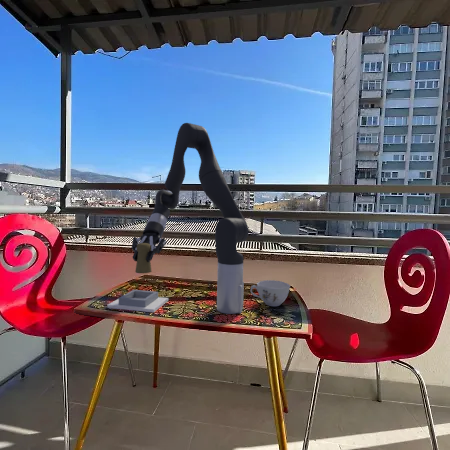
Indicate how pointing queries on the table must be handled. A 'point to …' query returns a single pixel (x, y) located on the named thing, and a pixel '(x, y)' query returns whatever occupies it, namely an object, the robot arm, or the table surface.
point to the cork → (143, 258)
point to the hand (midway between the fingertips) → (141, 260)
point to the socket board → (139, 301)
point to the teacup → (272, 291)
